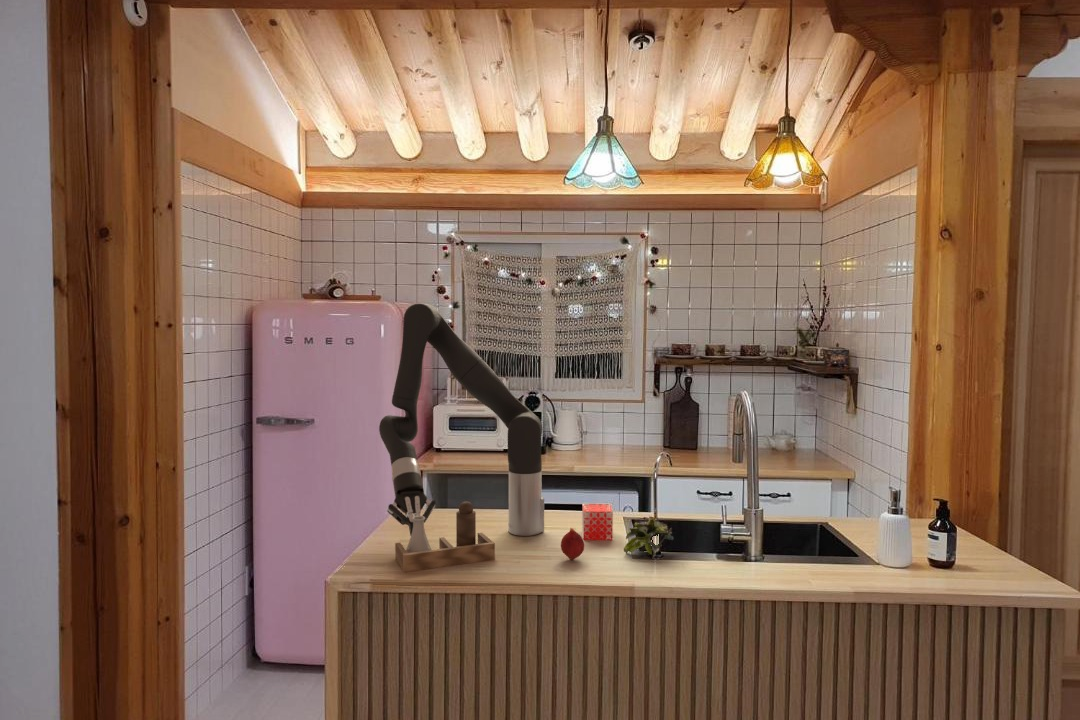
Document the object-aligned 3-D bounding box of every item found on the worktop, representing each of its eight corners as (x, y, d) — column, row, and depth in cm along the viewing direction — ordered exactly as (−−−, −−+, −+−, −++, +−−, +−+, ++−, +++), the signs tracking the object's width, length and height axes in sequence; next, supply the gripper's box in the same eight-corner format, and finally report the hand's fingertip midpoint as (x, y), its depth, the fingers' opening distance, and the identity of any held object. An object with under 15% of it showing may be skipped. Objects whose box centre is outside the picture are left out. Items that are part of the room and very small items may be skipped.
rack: (482, 547, 182) (482, 532, 181) (494, 559, 173) (494, 543, 173) (395, 559, 173) (395, 543, 172) (404, 572, 164) (404, 555, 164)
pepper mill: (472, 551, 179) (472, 498, 178) (478, 557, 174) (478, 502, 173) (454, 553, 177) (453, 500, 176) (459, 559, 172) (459, 504, 172)
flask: (434, 551, 178) (434, 513, 177) (432, 561, 171) (432, 521, 170) (405, 552, 178) (405, 513, 177) (402, 562, 170) (402, 522, 170)
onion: (587, 557, 174) (587, 526, 174) (578, 565, 169) (579, 532, 168) (566, 554, 177) (566, 523, 176) (557, 561, 171) (557, 529, 171)
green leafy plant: (650, 569, 181) (675, 530, 183) (659, 577, 170) (685, 535, 172) (614, 545, 182) (639, 506, 183) (621, 550, 171) (647, 509, 172)
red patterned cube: (612, 540, 188) (612, 511, 188) (583, 540, 189) (583, 511, 188) (610, 531, 196) (610, 503, 196) (582, 531, 197) (582, 503, 196)
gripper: (383, 472, 181) (392, 532, 171) (433, 469, 186) (445, 527, 176) (380, 488, 186) (388, 547, 176) (428, 484, 191) (439, 541, 181)
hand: (417, 537), depth 176 cm, fingers closed
